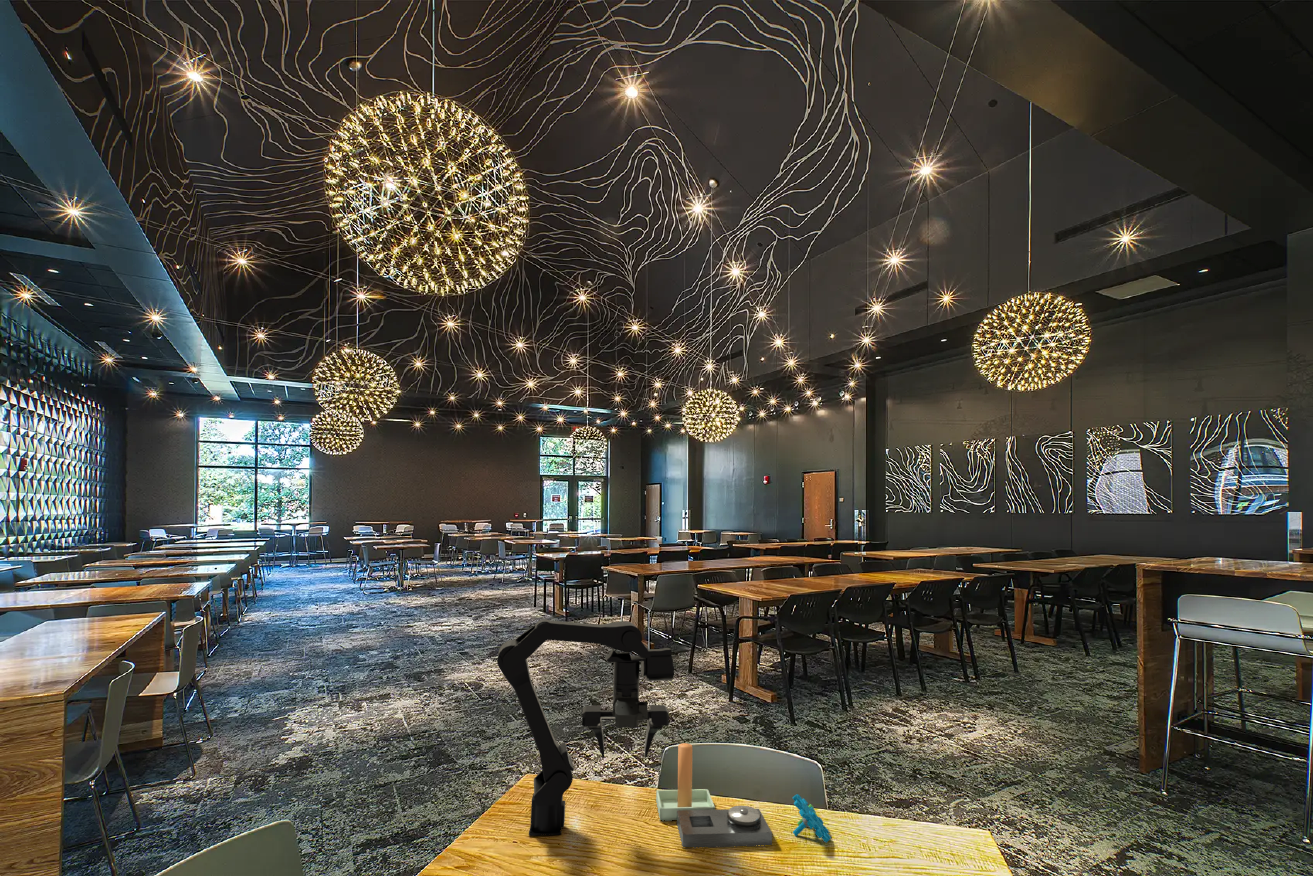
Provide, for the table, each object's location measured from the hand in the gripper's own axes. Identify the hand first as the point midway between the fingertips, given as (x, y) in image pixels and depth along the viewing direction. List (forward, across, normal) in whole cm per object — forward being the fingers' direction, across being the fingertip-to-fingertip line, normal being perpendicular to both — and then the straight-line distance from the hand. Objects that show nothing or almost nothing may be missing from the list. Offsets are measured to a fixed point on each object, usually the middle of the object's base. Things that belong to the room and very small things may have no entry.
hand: (624, 757), depth 129 cm
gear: (+13, +39, -8) cm, 42 cm away
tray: (+13, +14, +4) cm, 20 cm away
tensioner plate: (+13, +20, -6) cm, 25 cm away
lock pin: (+12, +14, +4) cm, 19 cm away
